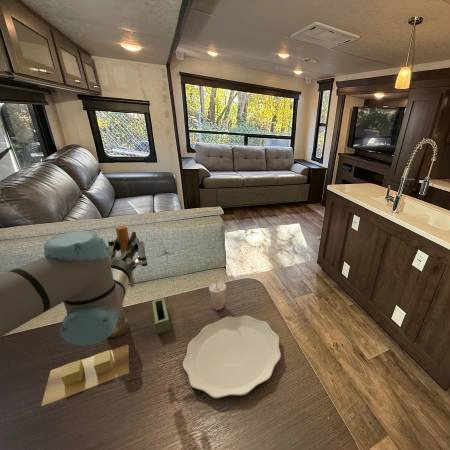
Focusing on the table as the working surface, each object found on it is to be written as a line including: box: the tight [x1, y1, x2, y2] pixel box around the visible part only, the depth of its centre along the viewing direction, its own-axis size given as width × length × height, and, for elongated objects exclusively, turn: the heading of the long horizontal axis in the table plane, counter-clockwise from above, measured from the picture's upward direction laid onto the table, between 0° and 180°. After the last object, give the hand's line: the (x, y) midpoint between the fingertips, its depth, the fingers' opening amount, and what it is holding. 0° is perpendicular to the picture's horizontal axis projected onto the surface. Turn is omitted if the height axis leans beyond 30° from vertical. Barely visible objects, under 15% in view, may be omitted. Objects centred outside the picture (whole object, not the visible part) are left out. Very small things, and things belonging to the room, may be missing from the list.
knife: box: [115, 224, 135, 288], centre depth 71 cm, size 8×3×17 cm, turn 34°
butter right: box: [94, 349, 113, 374], centre depth 70 cm, size 4×4×4 cm
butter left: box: [61, 359, 84, 386], centre depth 67 cm, size 4×4×4 cm
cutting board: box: [40, 344, 130, 408], centre depth 69 cm, size 11×18×2 cm, turn 123°
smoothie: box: [208, 277, 227, 311], centre depth 96 cm, size 6×6×14 cm
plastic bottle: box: [108, 304, 130, 339], centre depth 79 cm, size 6×7×20 cm
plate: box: [182, 315, 282, 399], centre depth 79 cm, size 29×29×2 cm
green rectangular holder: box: [151, 297, 171, 335], centre depth 88 cm, size 12×4×6 cm, turn 33°
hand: (128, 236), depth 74 cm, fingers closed on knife, 3 cm apart
